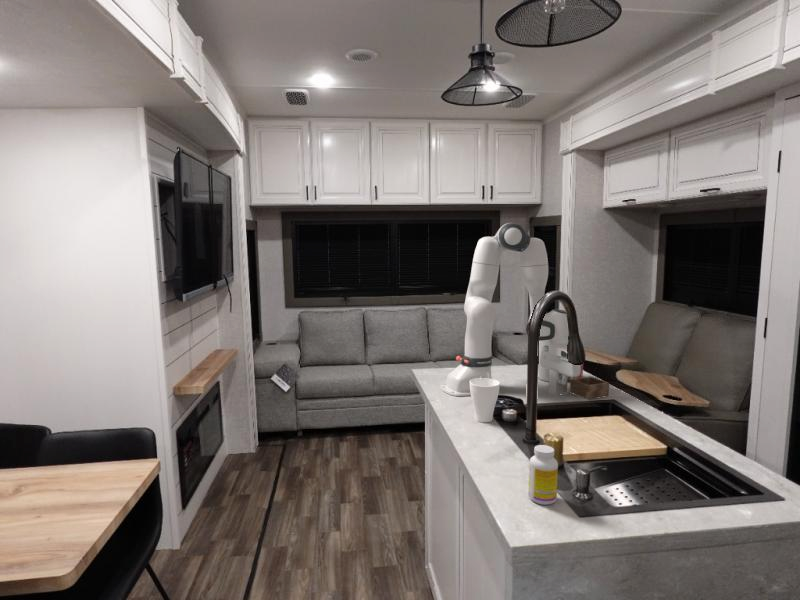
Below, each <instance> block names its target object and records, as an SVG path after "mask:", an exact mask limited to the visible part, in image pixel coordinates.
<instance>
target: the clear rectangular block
mask: <svg viewBox="0 0 800 600" xmlns="http://www.w3.org/2000/svg"><path fill="white" fill-rule="evenodd" d="M562 378H563V376H562V374H561V373H559V371H557V370H554V369H550V377H549V382H548V394H550V393H551V395H553V394H554V395H553V396H555V395H556V396H561V395H560V394H563V395H567V394H568V382H569V381H568V378H567V380H566V384H565V385H563V384H560V380H562ZM566 393H567V394H566Z"/></svg>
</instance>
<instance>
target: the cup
mask: <svg viewBox="0 0 800 600" xmlns="http://www.w3.org/2000/svg"><path fill="white" fill-rule="evenodd" d="M469 383H470V393H471V396H470V398H471V402H472V406H473V411H474V420H475V421H477V422H478V423H490V422H492V421H493V417H494V411H495V407H496V403H497V401H498V398H499V397H498V396H499V392H500V385H501V383H500V381H498V380H497V379H494V378H492V379H489V378H476V379H472V380H470V381H469Z"/></svg>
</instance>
